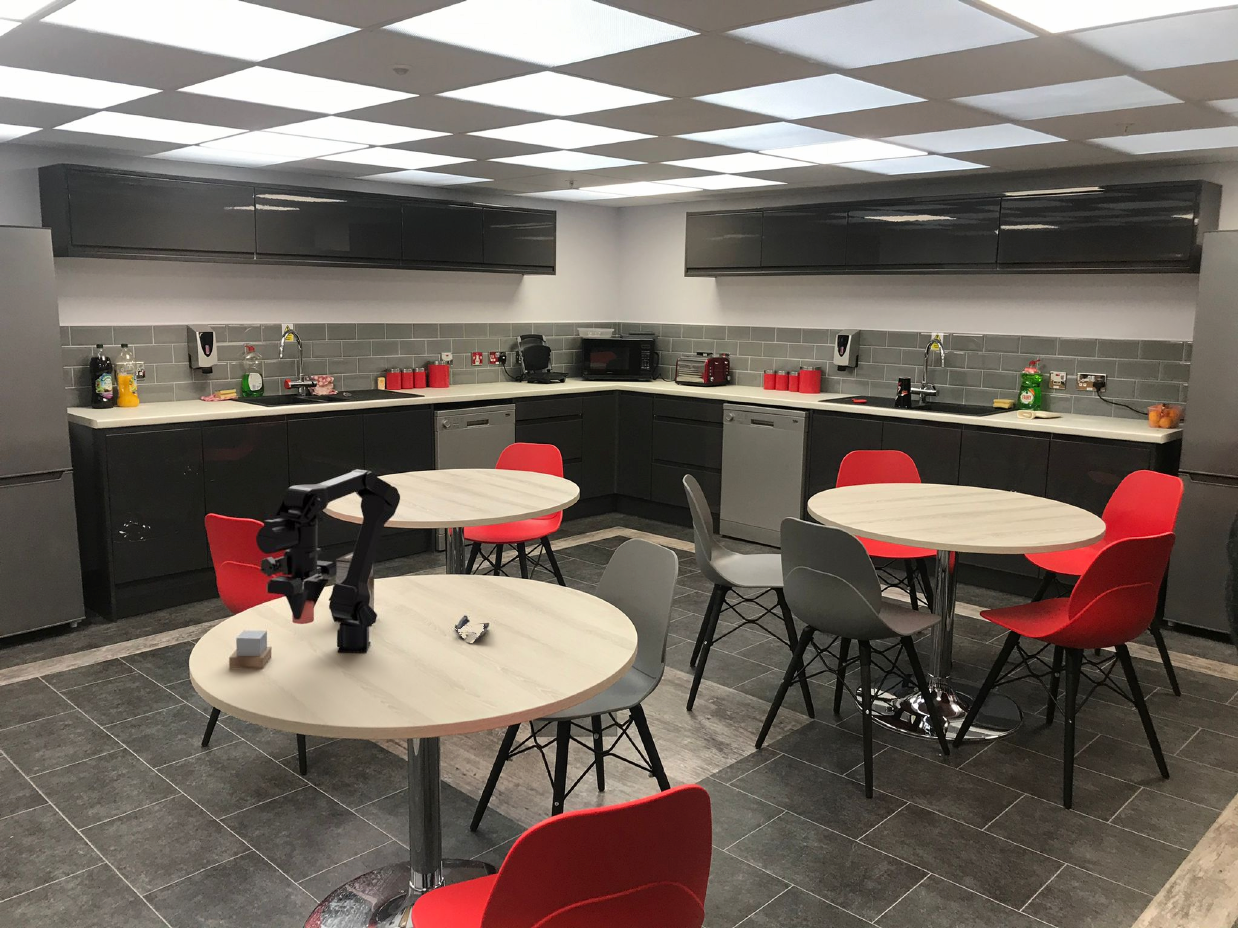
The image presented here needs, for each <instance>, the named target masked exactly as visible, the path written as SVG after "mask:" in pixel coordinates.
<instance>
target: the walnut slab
mask: <svg viewBox="0 0 1238 928" xmlns="http://www.w3.org/2000/svg"><path fill="white" fill-rule="evenodd" d="M228 659H229V660H228V663H229V665H228V667H229V668H230V669H231V668H236V669H237V668H238V670H239V668H242V670H244V669H245V670H246V669H250V670H251V669H253V670H255V669H256V670H257V669H259V670H263V669H264V668H265V667H266V665H267V664H268V663H269V661H270V660H271V659H272V646H267V649H266V650H265V651H264V652H263V654H262V655H261V656H237V648H236V649H235V650H234V651H233V653H232V654H230V656H229V657H228ZM236 669H235V670H236Z"/></svg>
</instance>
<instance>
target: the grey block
mask: <svg viewBox="0 0 1238 928" xmlns="http://www.w3.org/2000/svg"><path fill="white" fill-rule="evenodd" d="M267 635H268V631H267V630H242V631H241V632H240V633H239V634H238V636H236V639H235V640H236V643H235V644H236V647H235V648H236V649H237V656H261V655H262V654H263V652H264V651H265V650H266V649H267V647H268V636H267Z"/></svg>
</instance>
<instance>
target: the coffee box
mask: <svg viewBox="0 0 1238 928" xmlns="http://www.w3.org/2000/svg"><path fill="white" fill-rule="evenodd" d="M353 552H354V551H352V552H350V553H347V554H345V555H343V556H340V557H338V558H336V559H335V565H336V566H337V575H335V584H340V583H341V582H342V581H343V580H344V579H345V578H346V576H347V572H348V569H349V566H350V562H351V559H352V556H353ZM367 585H368V589H369V593H370V601H369V606H370V607H371V608H372V609H373V610H374V611H375V561H374V562H373V565H372V569H371V572H370V575H369V579H368V583H367Z"/></svg>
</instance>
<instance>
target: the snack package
mask: <svg viewBox="0 0 1238 928" xmlns="http://www.w3.org/2000/svg"><path fill="white" fill-rule="evenodd" d="M469 617H471V616H469ZM469 617H468V615H465V614H464V615H463V617H462V618H461V619H460V620H459V621H458V623H457V624H455V625H454V629H455V628H456V629H457V630H456V631H457V634H458V635H459V636H460V635H462V634H459V633H460V632H458V629H461V628H462V627H463V626H465V625H466V626H467V624H468V623H470V619H469ZM479 624H484V626H483V627H484V628H483V629H484V631H482V632H481V633H480V635H479V636H480V637H481V635H482V636H483V635H484V634H485V633H486V632H487V631H488V628H489V626H490V622H485V623H479ZM479 636H478V637H475V638H476V640H477V639H480V637H479Z"/></svg>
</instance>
